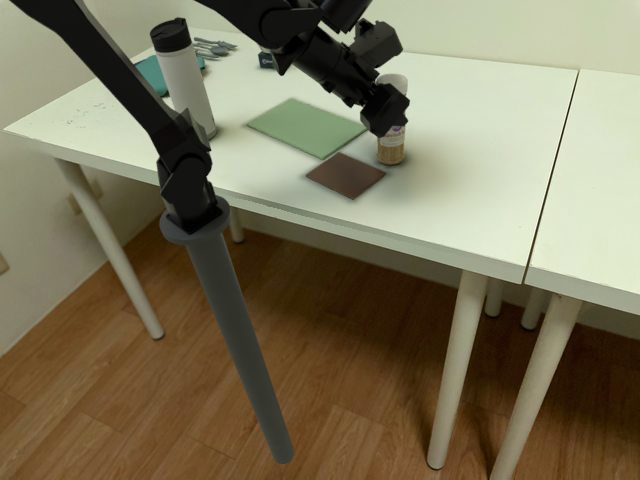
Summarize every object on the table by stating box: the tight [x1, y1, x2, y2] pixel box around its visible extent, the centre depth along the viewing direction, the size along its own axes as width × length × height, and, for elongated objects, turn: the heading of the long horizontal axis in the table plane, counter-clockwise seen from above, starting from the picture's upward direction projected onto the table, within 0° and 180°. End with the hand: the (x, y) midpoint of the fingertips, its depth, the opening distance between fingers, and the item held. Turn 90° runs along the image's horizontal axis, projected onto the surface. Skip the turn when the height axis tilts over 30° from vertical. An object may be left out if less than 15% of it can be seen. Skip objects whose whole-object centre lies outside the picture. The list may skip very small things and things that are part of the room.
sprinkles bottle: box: [376, 72, 409, 165], centre depth 72 cm, size 5×5×13 cm
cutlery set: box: [133, 36, 238, 97], centre depth 111 cm, size 20×30×2 cm, turn 147°
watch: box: [256, 43, 276, 70], centre depth 105 cm, size 6×8×11 cm
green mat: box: [246, 98, 368, 161], centre depth 86 cm, size 12×20×1 cm, turn 46°
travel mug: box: [149, 16, 218, 140], centre depth 82 cm, size 6×7×20 cm
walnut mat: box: [305, 151, 387, 200], centre depth 74 cm, size 8×10×1 cm
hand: (399, 116), depth 72 cm, fingers closed on sprinkles bottle, 4 cm apart
